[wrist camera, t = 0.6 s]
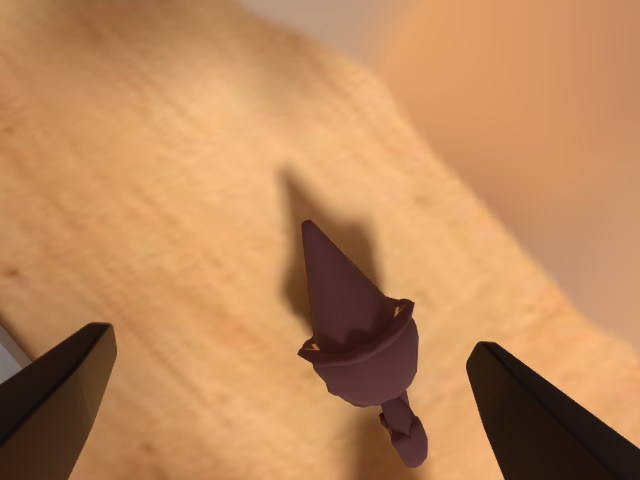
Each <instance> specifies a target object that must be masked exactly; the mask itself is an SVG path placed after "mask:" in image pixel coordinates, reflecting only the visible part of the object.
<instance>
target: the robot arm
mask: <svg viewBox="0 0 640 480" xmlns="http://www.w3.org/2000/svg"><path fill="white" fill-rule="evenodd" d="M116 356H117V345H116V339H115V333H114V328H113V325H112V324H111V323H105V322H91V323H89V324H87V325H86V326H84V327H83V328H81V329H80V330H78V331H77V332H75V333H74V334H72V335H71V336H70V337H68V338H67V339H65V340H64V341H62V342H61V343H59V344H58V345H56V346H55V347H54V348H52V349H51V350H49V351H48V352H46V353H45V354H43V355H42V356H40V357H39V358H38V359H36V360H35V361H33V362H32V363H30V364H29V365H27V366H26V367H24V368H23V369H22V370H20V371H19V372H17V373H16V374H14V375H13V376H11V377H10V378H8V379H7V380H5V381H4V382H3V383H1V384H0V480H68V479H69V476H70V474H71V472H72V470H73V468H74V466H75V464H76V461H77V459H78V457H79V455H80V453H81V451H82V449H83V446H84V444H85V442H86V440H87V438H88V435H89V433H90V431H91V429H92V426H93V423H94V421H95V418H96V415H97V412H98V409H99V406H100V404H101V401H102V398H103V395H104V392H105V389H106V386H107V383H108V380H109V377H110V374H111V371H112V368H113V366H114V363H115V360H116ZM466 370H467V374H468V377H469V381H470V384H471V387H472V391H473V394H474V397H475V401H476V404H477V407H478V411H479V414H480V417H481V420H482V423H483V426H484V429H485V432H486V434H487V437H488V440H489V442H490V445H491V447H492V450H493V452H494V454H495V457H496V459H497V462H498V464H499V467H500V469H501V472H502V474H503V477H504V479H505V480H640V449H639V448H638V447H636V446H635V445H634V444H632V443H631V442H630V441H628V440H627V439H626V438H624V437H623V436H621V435H620V434H619V433H617V432H616V431H615V430H613V429H612V428H611V427H609V426H608V425H607V424H605V423H604V422H602V421H601V420H600V419H598V418H597V417H596V416H594V415H593V414H592V413H590V412H589V411H588V410H586V409H585V408H584V407H582V406H581V405H579V404H578V403H577V402H575V401H574V400H573V399H571V398H570V397H569V396H567V395H566V394H565V393H563V392H562V391H561V390H559V389H558V388H556V387H555V386H554V385H552V384H551V383H550V382H548V381H547V380H546V379H544V378H543V377H542V376H540V375H539V374H538V373H536V372H535V371H533V370H532V369H531V368H529V367H528V366H527V365H525V364H524V363H523V362H521V361H520V360H519V359H517V358H516V357H514V356H513V355H512V354H510V353H509V352H508V351H506V350H505V349H504V348H502V347H501V346H500V345H498V344H497V343H495V342H489V341H480V342H478V343H477V344H476V346H475V347H474V349H473V351H472V353H471V355H470V356H469V358H468V360H467V363H466Z"/></svg>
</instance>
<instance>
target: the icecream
mask: <svg viewBox="0 0 640 480" xmlns="http://www.w3.org/2000/svg"><path fill="white" fill-rule="evenodd" d="M301 227H302V238H303V247H304V255H305V263H306V272H307V281H308V290H309V299H310V308H311V317H312V326H313V336H312V338H311V339H309V340H307V341H306V342H305V343H304V344H303V346H302V348H301V349H300V350H299V352H298V354H297V355H299V356H300V357H302V358H304V359H306V360H307V361H309V362H311V363H312V364H313V368H314V370H315V372H316V373H317V374H318V375H319V376H320V377H321V378H322V379H323V380H324V381H325V382H326V386H327V389H328V392H330V393H331V394H333V395H336V396H339V397H341V398H342V399H344V400H345V401H347V402H349V403H351V404H352V405H354V406H357V407H363V408H364V407H368V406H375V405H380V404H381V407H382V410H383V413H381V414H380V415H379V417H380V420H381V424H382V425H383V426H384V427H385V428H386V429H388V431H389V433H390V436H391V441H392V444H393V446H394V447H395V448H396V450H397V451H398V453H399V455H400V457H401V459H402V460H403V462H404V463H405V464H406V466H407V467H412V468H416V467H418V466H420V465H421V464H422V463H423V462H424V460H425V459H426V458H427V451H428V439H427V436H426V433H425V431H424V428H423V425H422V423H421V421H420V420H419V418H418V417H417V416H415V415H414V414H413V412H412V410H411V408H410V407H409V401H408V396H407V391H406V389H407V388H408V387H409V386H410V385H411V383H412V381H413V379H414V376H415V374H416V372H417V360H418V341H419V336H418V331H417V326H416V324H415V321H414V319H413V318H412V312H413V308H414V304H415V302H412V301H411V300H408V299H400V300H397V299H393V298H389V297H386V296H385V295H384V294H383V293H382V292H381V291H380V290H379V289H378V288H377V287H376V286H375V285H374V284H373V283H372V282H371V281H370V280H369V279H368V278H367V277H366V276H365V275H364V274H363V273H362V272H361V271H360V270H359V269H358V268H357V267H356V266H355V265H354V264H353V263H352V262H351V261H350V260H349V259H348V258H347V257H346V256H345V255H344V254H343V253H342V252H341V251H340V250H339V249H338V248H337V247H336V245H335V244H334V243H333V242H332V241H331V240H330V239H329V238H328V237H327V236H326V235H325V234H324V233H323V232H322V231H321V230H320V229H319V228H318V227H317V226H316V225H315V224H314V223H313V222H312V221H311V220H305V221H304V222H303V223H302V224H301Z"/></svg>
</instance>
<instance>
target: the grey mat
mask: <svg viewBox="0 0 640 480" xmlns="http://www.w3.org/2000/svg"><path fill="white" fill-rule="evenodd" d="M30 363H32V361H31V360H30V358H29V357H28V356H27V355H26V354H25V352H24V351H23V350H22V349H21V348H20V346H19V345H18V344H17V343H16V342H15V341H14V339H13V338H12V337H11V336H10V335H9V333H8V332H7V331H6V330H5V329H4V327H3V326H2V325H1V324H0V384H1V383H3V382H4V381H5V380H7V379H8V378H10V377H11V376H13V375H14V374H16V373H17V372H19V371H20V370H22V369H23V368H24V367H26V366H27V365H29V364H30Z"/></svg>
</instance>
